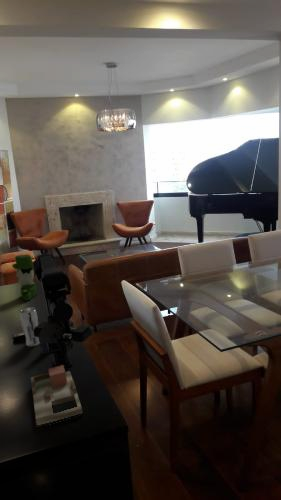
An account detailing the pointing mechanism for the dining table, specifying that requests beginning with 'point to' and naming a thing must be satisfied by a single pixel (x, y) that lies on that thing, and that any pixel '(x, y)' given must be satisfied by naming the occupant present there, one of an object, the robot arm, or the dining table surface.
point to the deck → (53, 398)
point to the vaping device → (43, 346)
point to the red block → (57, 375)
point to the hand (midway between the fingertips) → (66, 355)
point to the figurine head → (25, 276)
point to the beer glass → (29, 325)
